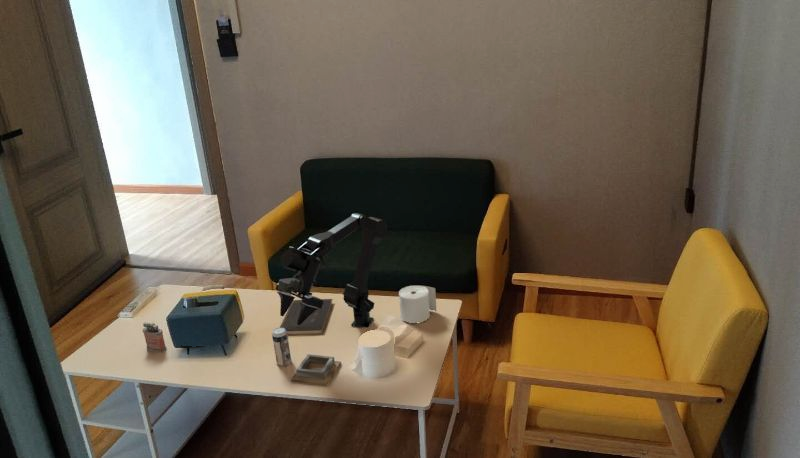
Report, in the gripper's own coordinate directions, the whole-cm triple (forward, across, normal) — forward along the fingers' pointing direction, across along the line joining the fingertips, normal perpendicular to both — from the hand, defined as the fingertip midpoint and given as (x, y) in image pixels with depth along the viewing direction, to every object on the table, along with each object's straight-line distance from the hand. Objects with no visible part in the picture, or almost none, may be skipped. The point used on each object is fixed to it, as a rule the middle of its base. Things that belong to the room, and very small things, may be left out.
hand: (289, 320), depth 199 cm
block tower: (+16, -49, +3) cm, 51 cm away
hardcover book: (+2, -19, +24) cm, 31 cm away
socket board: (+12, +12, +7) cm, 19 cm away
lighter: (+28, -44, -15) cm, 54 cm away
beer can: (+14, -1, +5) cm, 15 cm away
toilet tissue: (-14, +12, +46) cm, 49 cm away
